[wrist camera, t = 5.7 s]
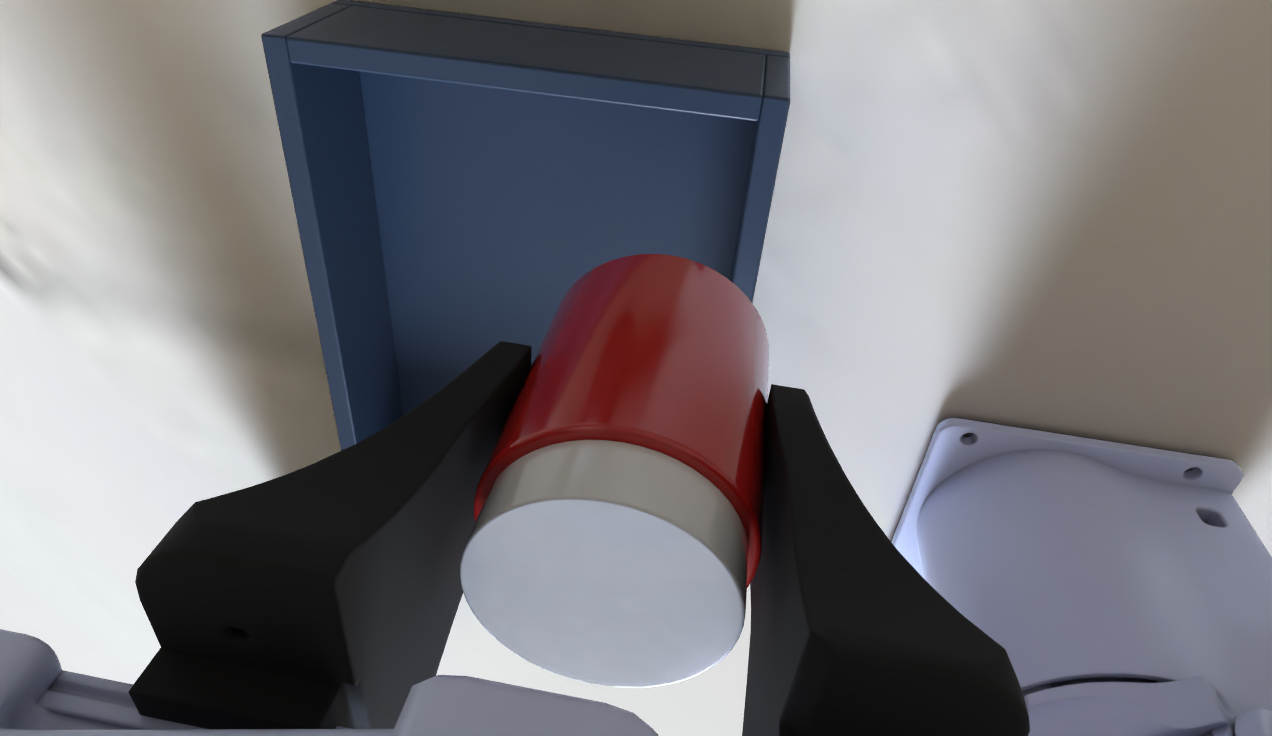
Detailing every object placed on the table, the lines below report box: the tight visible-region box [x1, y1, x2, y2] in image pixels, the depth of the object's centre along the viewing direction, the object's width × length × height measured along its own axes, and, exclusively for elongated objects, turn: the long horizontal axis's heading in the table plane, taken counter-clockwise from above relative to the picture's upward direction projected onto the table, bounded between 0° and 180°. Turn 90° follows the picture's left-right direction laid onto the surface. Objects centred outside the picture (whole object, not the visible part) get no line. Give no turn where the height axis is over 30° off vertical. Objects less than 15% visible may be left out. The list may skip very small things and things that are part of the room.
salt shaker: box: [460, 254, 769, 688], centre depth 14 cm, size 5×5×7 cm
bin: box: [261, 0, 790, 451], centre depth 24 cm, size 12×17×4 cm
